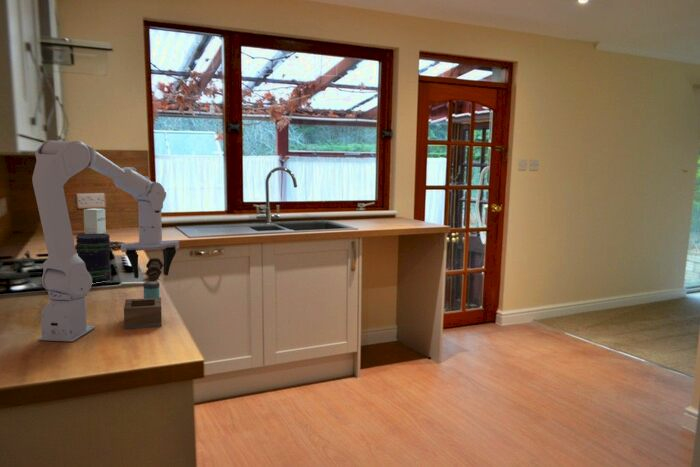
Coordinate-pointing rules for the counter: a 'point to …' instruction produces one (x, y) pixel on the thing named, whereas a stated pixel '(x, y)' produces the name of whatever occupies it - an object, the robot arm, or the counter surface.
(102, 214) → the supplement box
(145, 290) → the peg
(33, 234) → the counter surface
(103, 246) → the storage jar
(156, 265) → the dark dumbbell
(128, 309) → the socket
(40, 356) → the counter surface
